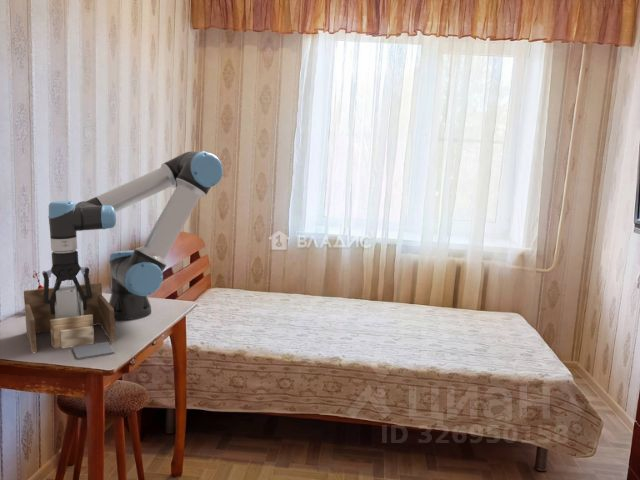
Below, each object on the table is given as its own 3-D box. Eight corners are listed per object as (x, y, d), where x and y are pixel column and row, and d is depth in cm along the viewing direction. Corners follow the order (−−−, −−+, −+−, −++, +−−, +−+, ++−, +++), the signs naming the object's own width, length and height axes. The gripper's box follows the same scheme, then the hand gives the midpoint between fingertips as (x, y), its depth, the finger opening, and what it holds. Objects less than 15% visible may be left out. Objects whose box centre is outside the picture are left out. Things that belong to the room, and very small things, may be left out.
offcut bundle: (93, 338, 184) (91, 314, 183) (95, 343, 180) (94, 317, 179) (51, 345, 178) (49, 319, 177) (53, 349, 174) (51, 323, 173)
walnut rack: (102, 322, 200) (100, 282, 198) (115, 340, 183) (113, 296, 181) (26, 332, 189) (23, 290, 187) (32, 352, 171) (28, 306, 169)
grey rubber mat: (107, 343, 180) (107, 341, 180) (114, 353, 171) (114, 351, 171) (72, 348, 175) (72, 347, 175) (77, 359, 166) (77, 357, 166)
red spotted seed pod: (49, 313, 210) (47, 272, 208) (30, 313, 210) (27, 272, 208) (58, 307, 218) (56, 268, 216) (39, 307, 218) (36, 268, 215)
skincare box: (62, 329, 190) (58, 285, 188) (82, 327, 192) (78, 283, 189) (58, 337, 183) (54, 291, 180) (79, 335, 184) (75, 289, 182)
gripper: (30, 256, 175) (36, 330, 179) (99, 249, 185) (104, 320, 188) (28, 251, 181) (34, 323, 185) (95, 246, 191) (100, 314, 195)
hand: (69, 321), depth 187 cm, fingers closed on skincare box, 7 cm apart
